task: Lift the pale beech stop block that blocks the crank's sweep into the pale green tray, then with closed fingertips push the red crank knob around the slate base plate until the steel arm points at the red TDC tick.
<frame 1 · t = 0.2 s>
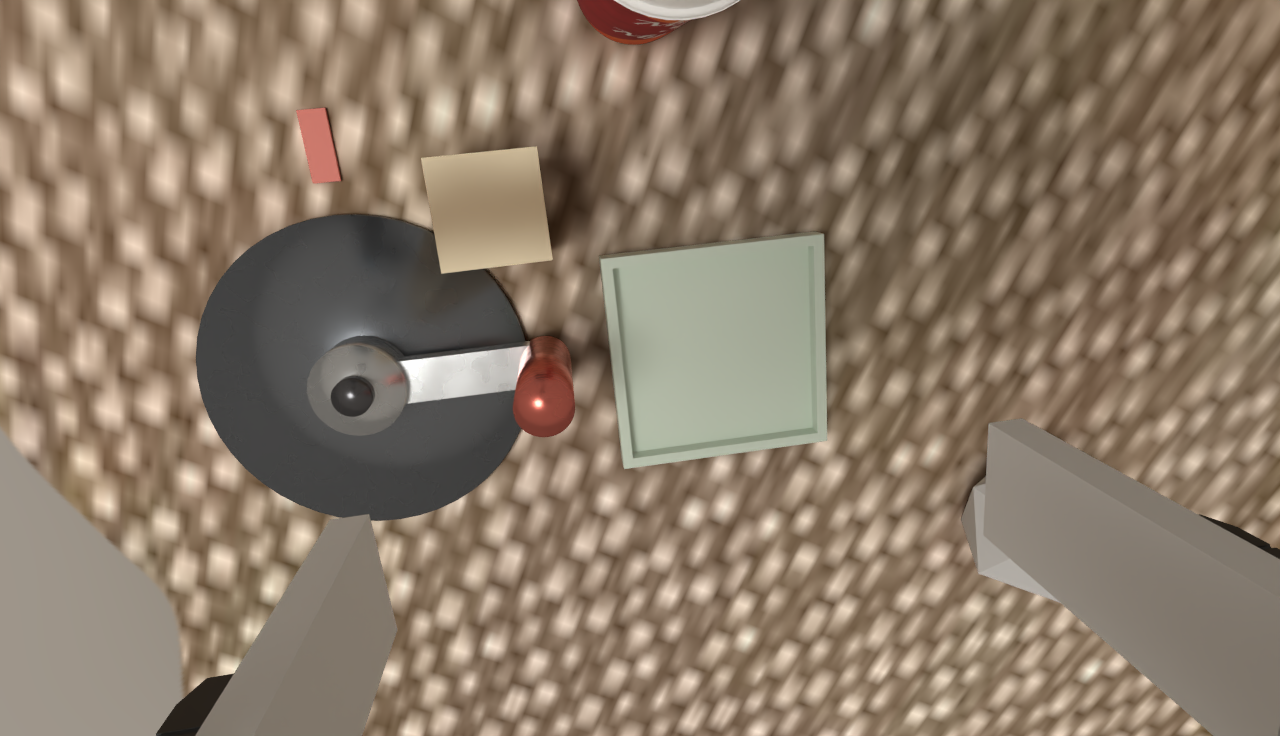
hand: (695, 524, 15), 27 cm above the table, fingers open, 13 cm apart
crank: (435, 393, 35), point 5 cm above the table, hinge at 90.0°
stop block: (495, 210, 38), on the table, touching base plate
tray: (714, 348, 42), on the table
die: (998, 496, 48), on the table
base plate: (370, 375, 40), on the table
tdc tick: (319, 146, 36), on the table
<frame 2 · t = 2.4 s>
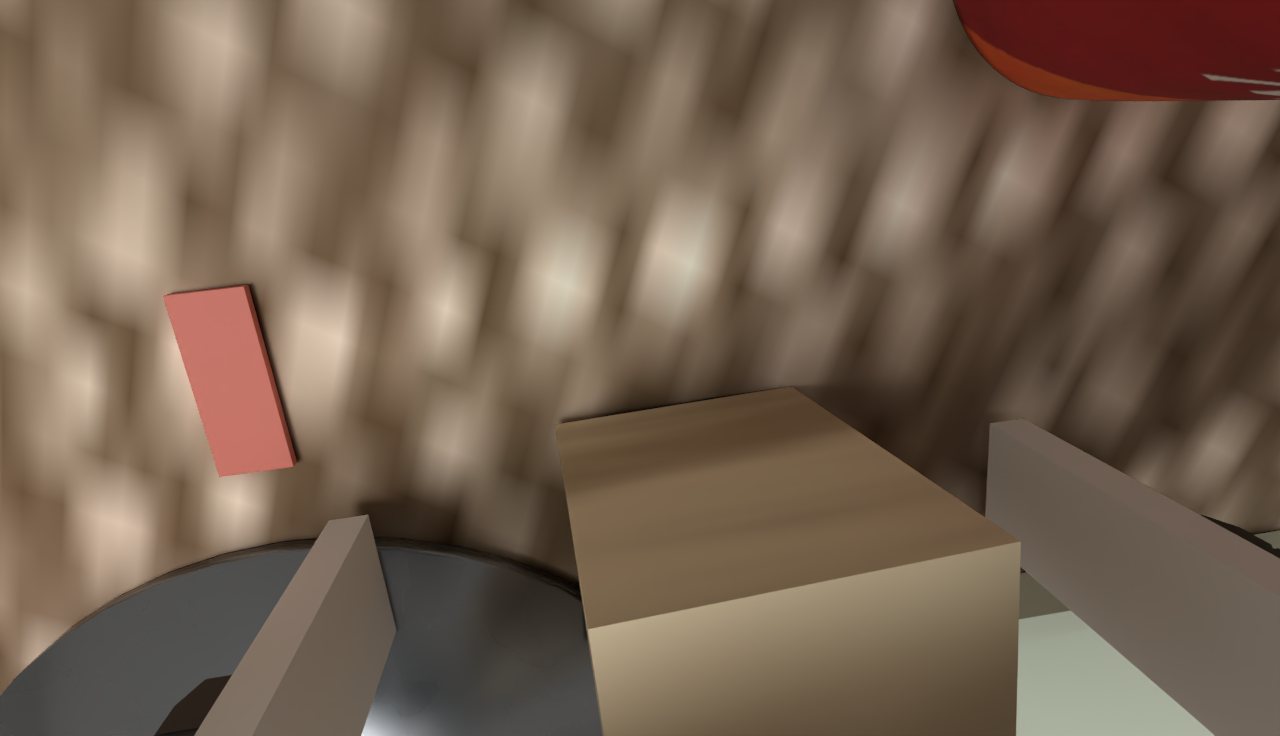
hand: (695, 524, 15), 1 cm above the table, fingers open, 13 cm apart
stop block: (687, 515, 15), on the table, touching base plate
tdc tick: (235, 381, 13), on the table
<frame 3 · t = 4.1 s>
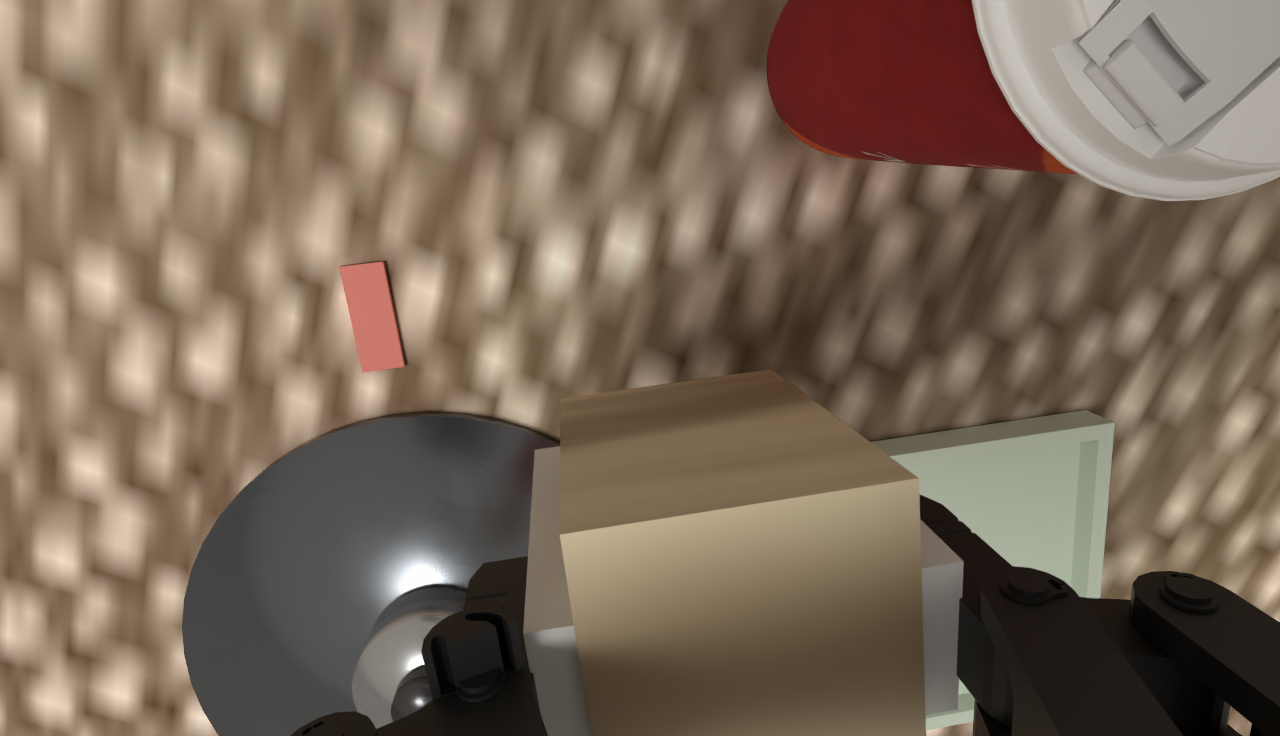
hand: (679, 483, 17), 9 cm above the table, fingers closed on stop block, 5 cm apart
coffee cup: (850, 63, 23), on the table
crank: (557, 709, 22), point 5 cm above the table, hinge at 90.0°
stop block: (678, 483, 17), point 9 cm above the table, touching gripper
tray: (933, 574, 29), on the table
base plate: (441, 633, 27), on the table
tdc tick: (374, 316, 24), on the table
when the fingers open (1 cm above the table, at t = 7.8 s): stop block stays where it is, resting on tray.
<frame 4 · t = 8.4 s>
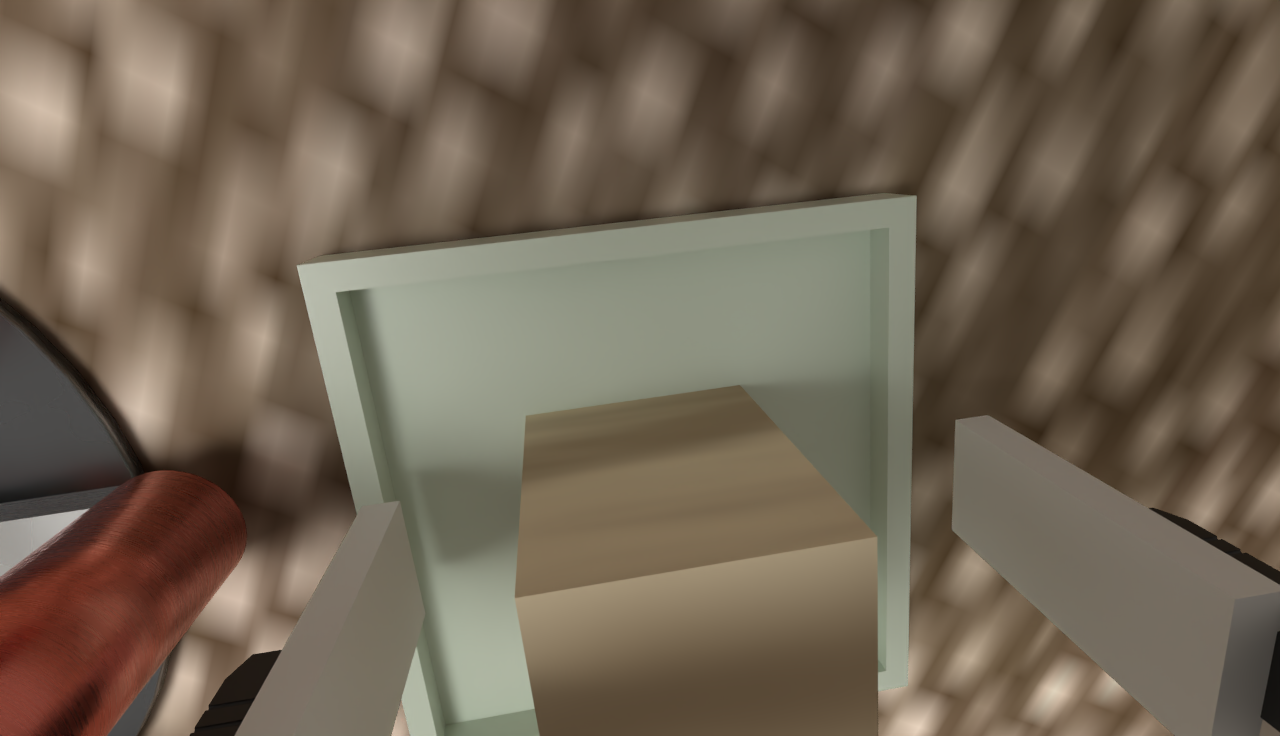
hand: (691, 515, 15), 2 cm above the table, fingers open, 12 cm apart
stop block: (645, 497, 17), point 1 cm above the table, touching tray
tray: (640, 480, 17), on the table
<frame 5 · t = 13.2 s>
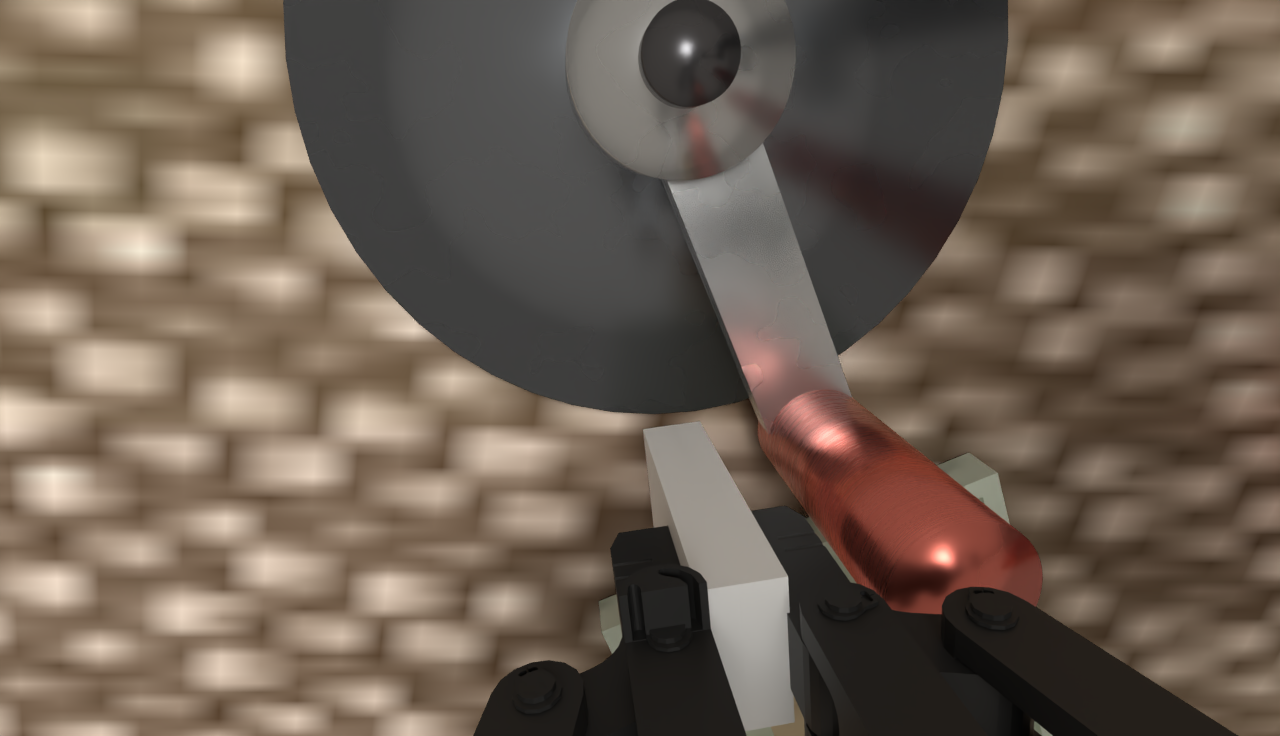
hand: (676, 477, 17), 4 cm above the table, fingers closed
crank: (781, 263, 14), point 5 cm above the table, hinge at 92.3°, touching gripper
stop block: (839, 691, 23), point 1 cm above the table, touching tray
tray: (837, 676, 24), on the table
base plate: (662, 76, 18), on the table
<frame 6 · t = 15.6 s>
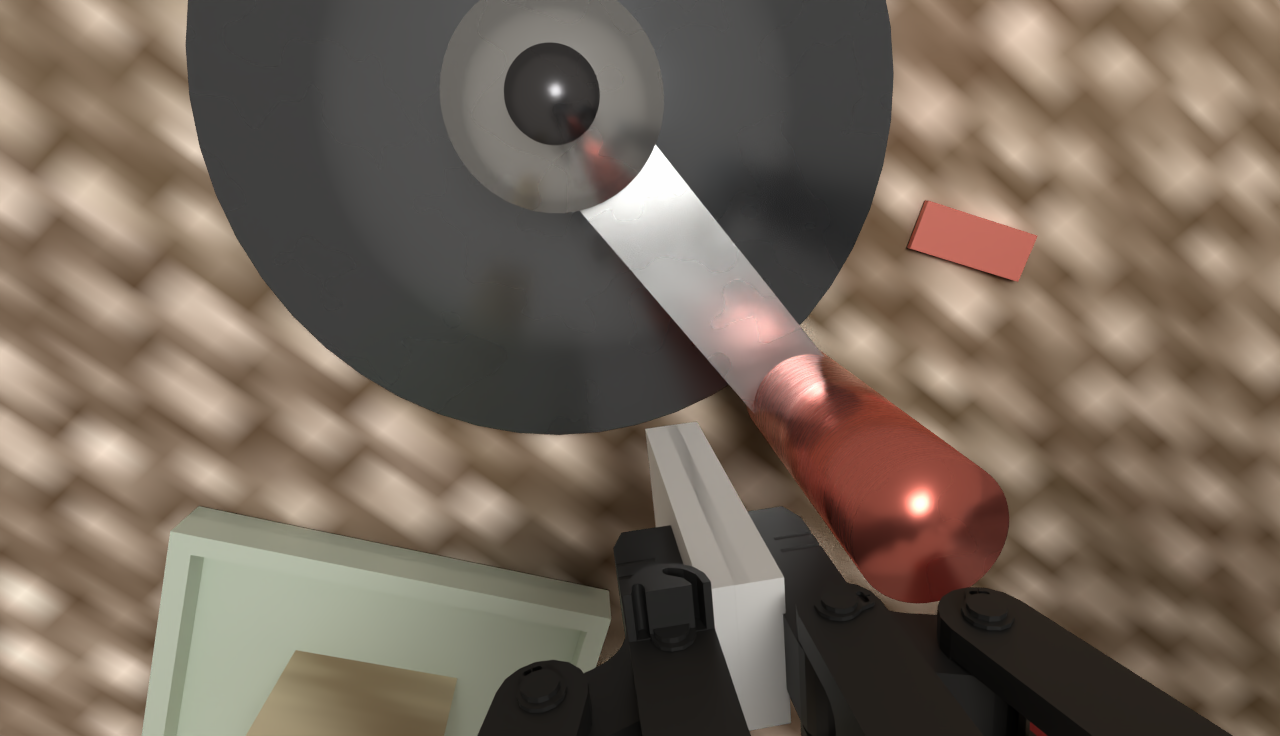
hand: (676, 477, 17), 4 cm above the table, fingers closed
crank: (692, 261, 15), point 5 cm above the table, hinge at 146.8°, touching gripper
stop block: (363, 728, 22), point 1 cm above the table, touching tray
tray: (374, 715, 23), on the table
base plate: (556, 110, 19), on the table
tdc tick: (970, 241, 21), on the table
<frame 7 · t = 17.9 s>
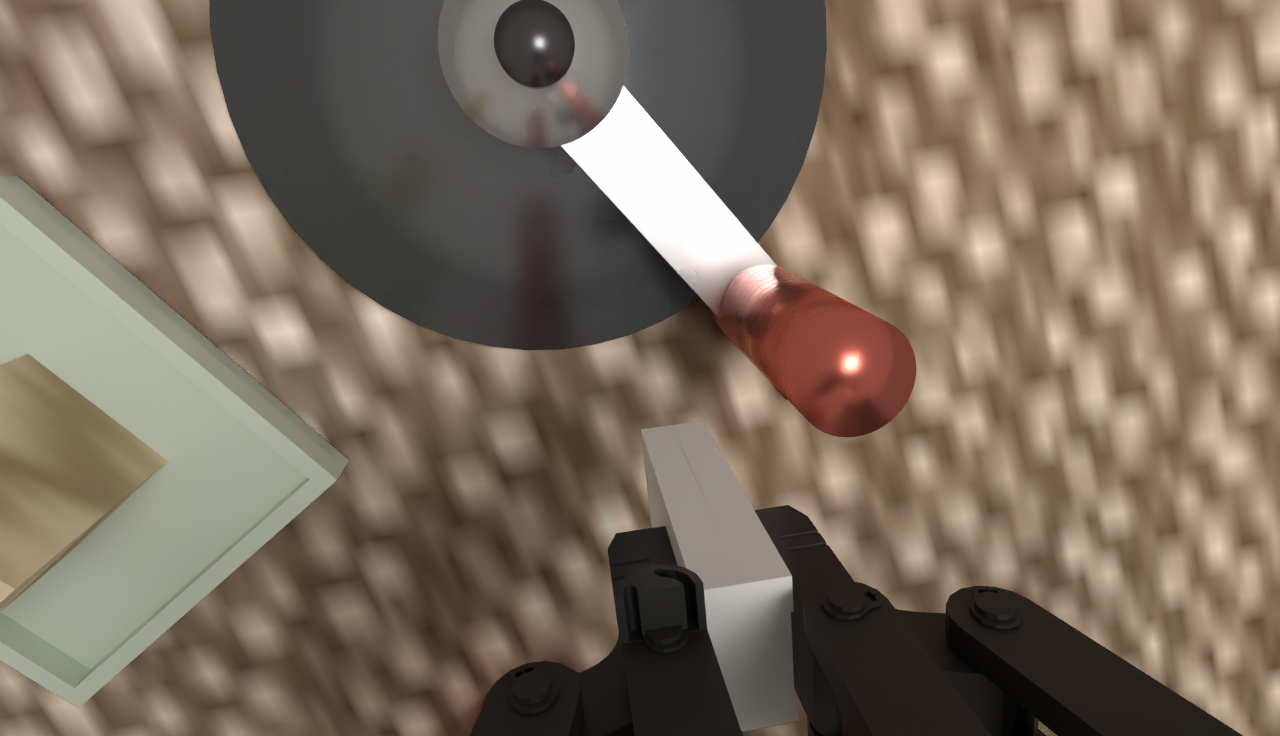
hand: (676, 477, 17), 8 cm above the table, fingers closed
crank: (659, 180, 18), point 5 cm above the table, hinge at 182.5°
stop block: (48, 459, 22), point 1 cm above the table, touching tray
tray: (65, 454, 23), on the table
base plate: (536, 61, 21), on the table
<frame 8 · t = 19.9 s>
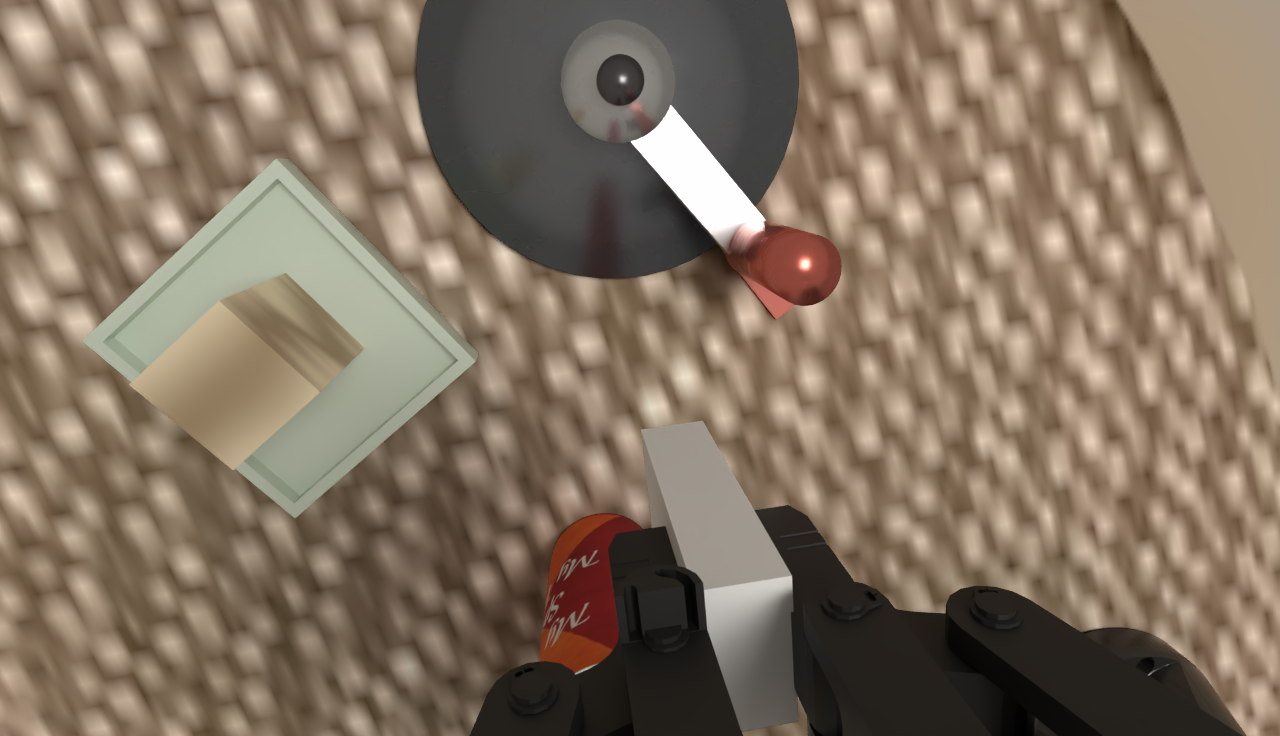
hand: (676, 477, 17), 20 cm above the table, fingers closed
coffee cup: (602, 558, 41), on the table
crank: (693, 161, 30), point 5 cm above the table, hinge at 182.5°
stop block: (289, 344, 34), point 1 cm above the table, touching tray
tray: (297, 343, 35), on the table
base plate: (612, 89, 33), on the table
tdc tick: (765, 285, 37), on the table
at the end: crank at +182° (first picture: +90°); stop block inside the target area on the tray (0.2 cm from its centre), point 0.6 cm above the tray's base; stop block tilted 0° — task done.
